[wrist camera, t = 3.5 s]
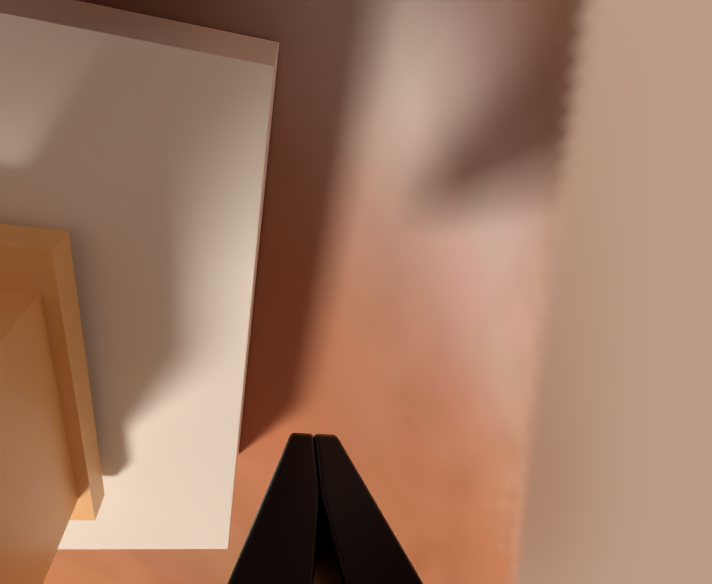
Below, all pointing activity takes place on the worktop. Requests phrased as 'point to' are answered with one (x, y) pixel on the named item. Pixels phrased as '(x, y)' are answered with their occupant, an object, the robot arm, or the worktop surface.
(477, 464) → the worktop surface
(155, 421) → the socket
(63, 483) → the orange wooden block
